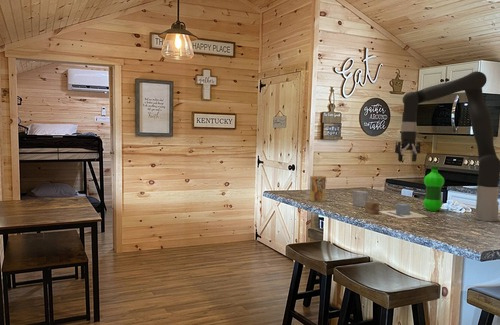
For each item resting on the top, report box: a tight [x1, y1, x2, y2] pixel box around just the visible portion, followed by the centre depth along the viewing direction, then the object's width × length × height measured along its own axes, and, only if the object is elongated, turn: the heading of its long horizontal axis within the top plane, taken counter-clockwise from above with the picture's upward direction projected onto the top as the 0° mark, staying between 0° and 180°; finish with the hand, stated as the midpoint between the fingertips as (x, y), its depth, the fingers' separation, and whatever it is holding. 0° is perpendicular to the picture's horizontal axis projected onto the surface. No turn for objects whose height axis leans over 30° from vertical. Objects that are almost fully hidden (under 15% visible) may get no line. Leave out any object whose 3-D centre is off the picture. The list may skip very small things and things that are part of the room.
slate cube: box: [395, 203, 411, 215], centre depth 220 cm, size 5×5×5 cm
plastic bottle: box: [422, 165, 445, 212], centre depth 235 cm, size 10×10×25 cm
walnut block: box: [364, 201, 380, 215], centre depth 221 cm, size 5×5×6 cm
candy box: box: [309, 175, 327, 202], centre depth 259 cm, size 9×4×15 cm, turn 103°
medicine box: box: [352, 190, 370, 208], centre depth 243 cm, size 8×4×9 cm, turn 47°
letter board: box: [379, 209, 429, 219], centre depth 220 cm, size 18×18×1 cm
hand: (407, 161), depth 220 cm, fingers open, 8 cm apart
